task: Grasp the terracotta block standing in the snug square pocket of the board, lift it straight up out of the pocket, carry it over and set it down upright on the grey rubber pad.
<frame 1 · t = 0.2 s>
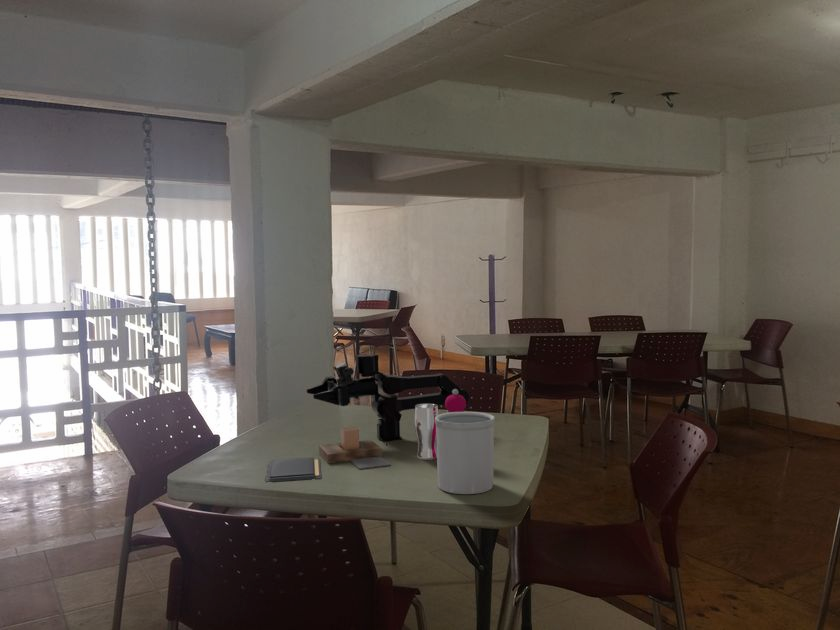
hand: (310, 393, 214), 17 cm above the table, tool horizontal, fingers open, 9 cm apart
block: (349, 442, 204), in the pocket board
utensil holder: (465, 486, 174), on the table
dark blue flat slab: (294, 473, 191), on the table
pad: (370, 463, 196), on the table
pocket board: (350, 455, 204), on the table
pepper mill: (456, 459, 199), on the table
beer glass: (427, 457, 201), on the table
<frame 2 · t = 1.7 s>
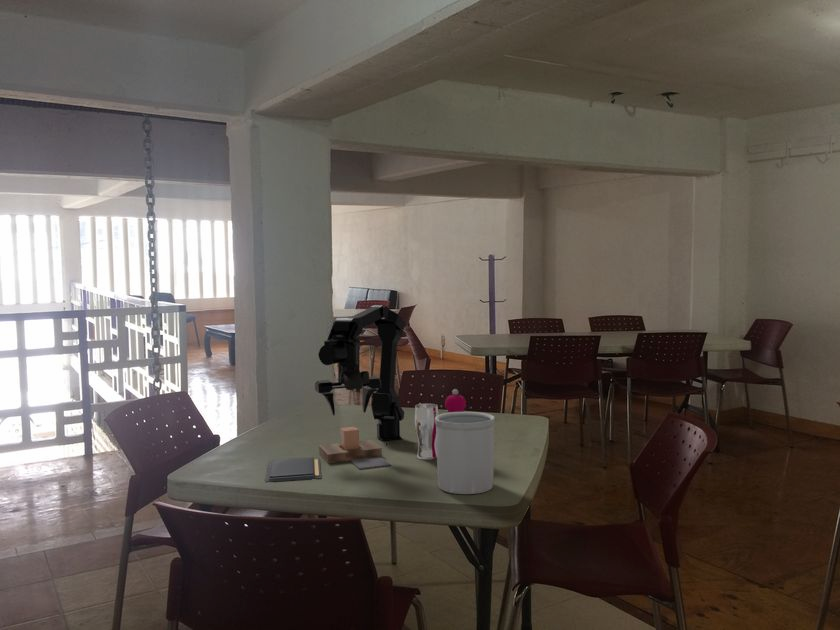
hand: (349, 413, 204), 12 cm above the table, tool pointing down, fingers open, 9 cm apart
nothing on the table moved.
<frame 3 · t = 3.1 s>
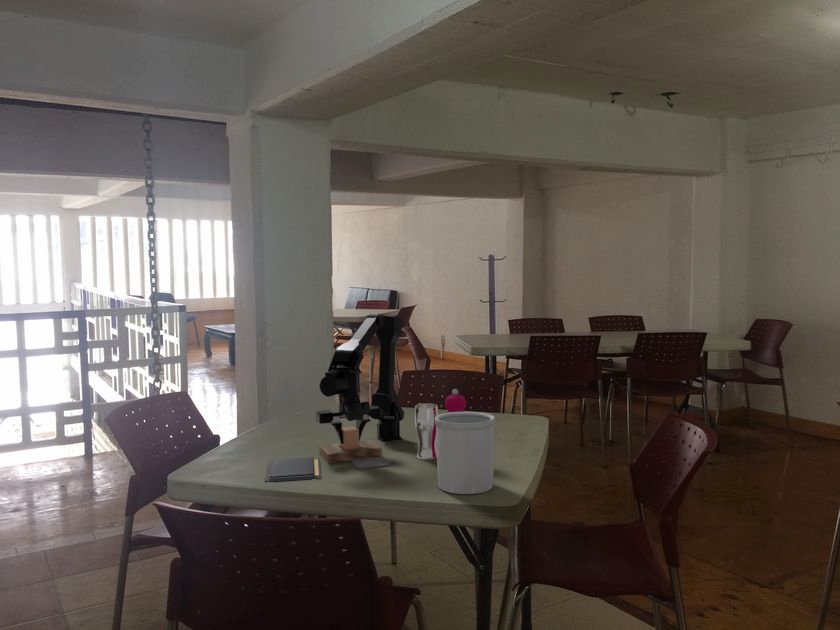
hand: (349, 443, 204), 4 cm above the table, tool pointing down, fingers closed on block, 4 cm apart
block: (349, 442, 204), in the pocket board, touching gripper
everything else where it was.
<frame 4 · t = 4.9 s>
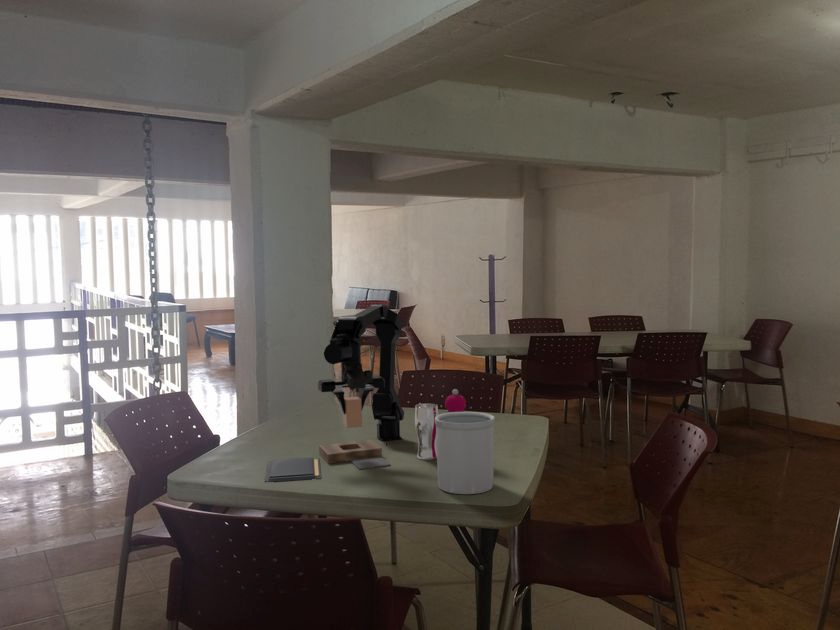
hand: (352, 413, 202), 13 cm above the table, tool pointing down, fingers closed on block, 4 cm apart
block: (352, 412, 202), point 13 cm above the table, touching gripper
everything else where it was.
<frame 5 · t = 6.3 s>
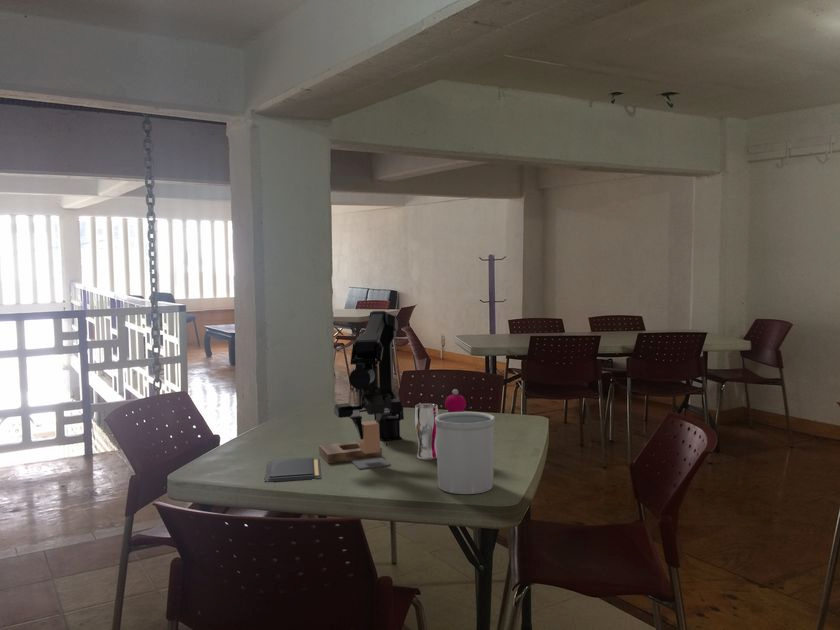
hand: (369, 438, 195), 7 cm above the table, tool pointing down, fingers closed on block, 4 cm apart
block: (369, 436, 195), point 8 cm above the table, touching gripper
everything else where it was.
when the fingers open (5 cm above the table, at t = 7.1 s): block stays where it is, resting on pad.
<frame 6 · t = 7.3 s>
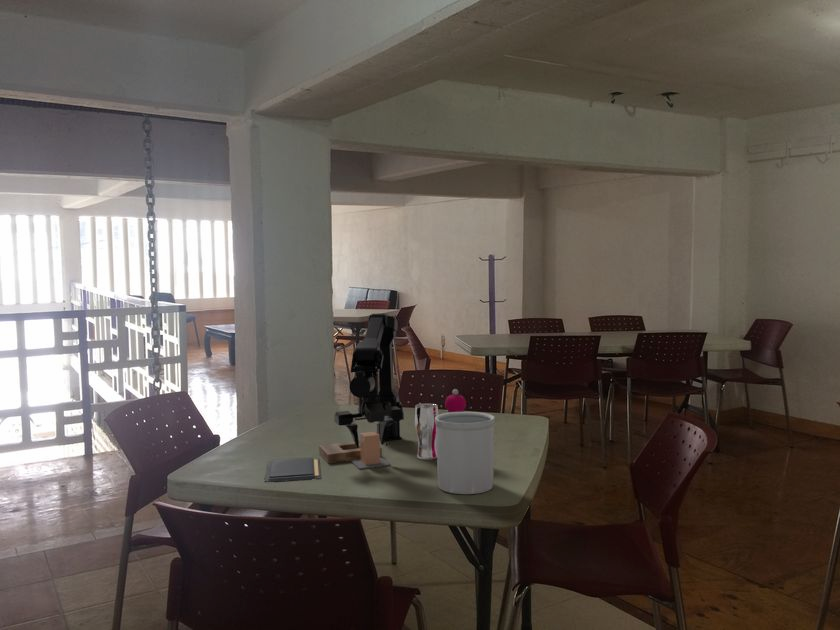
hand: (369, 445, 195), 5 cm above the table, tool pointing down, fingers open, 7 cm apart
block: (370, 448, 195), on the pad
everything else where it was.
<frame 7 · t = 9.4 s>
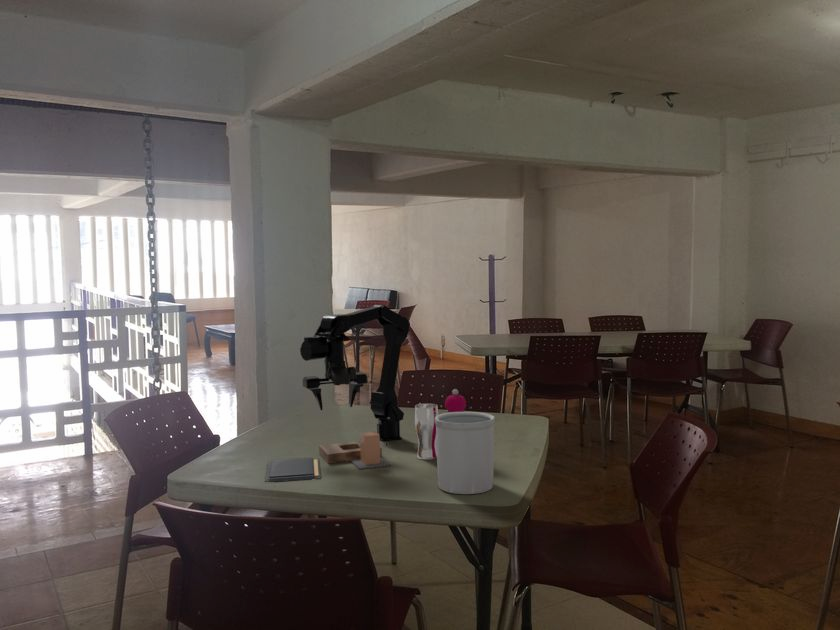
hand: (336, 408, 209), 13 cm above the table, tool pointing down, fingers open, 9 cm apart
nothing on the table moved.
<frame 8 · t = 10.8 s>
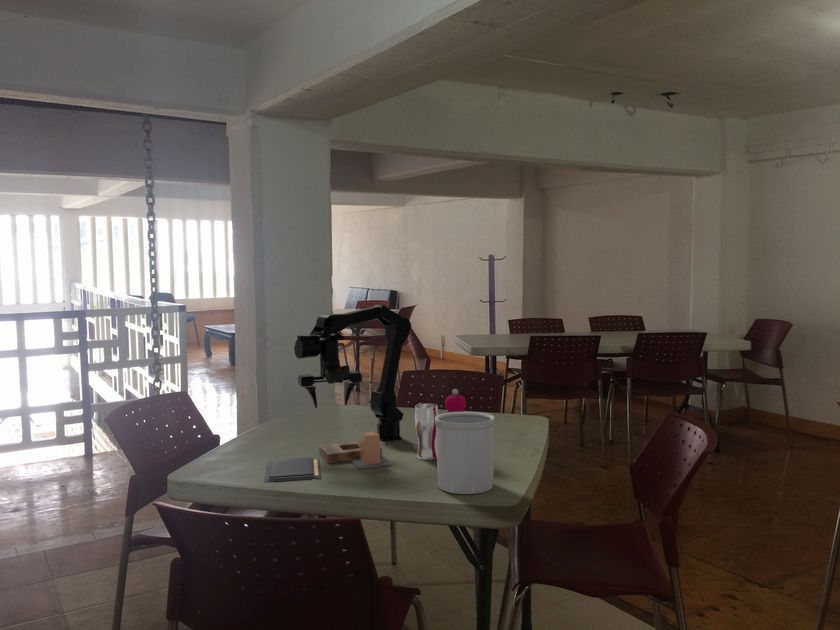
hand: (330, 406, 212), 13 cm above the table, tool pointing down, fingers open, 9 cm apart
nothing on the table moved.
at the end: block inside the target area on the pad (0.0 cm from its centre), point 4.4 cm above the pad's base; block tilted 0°; block touching pad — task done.
